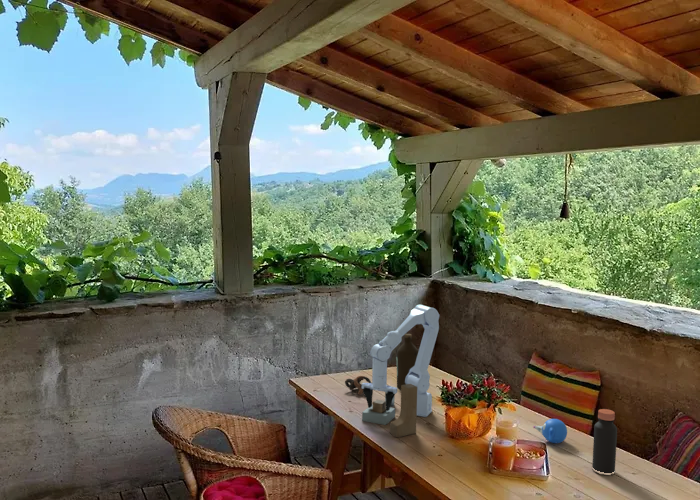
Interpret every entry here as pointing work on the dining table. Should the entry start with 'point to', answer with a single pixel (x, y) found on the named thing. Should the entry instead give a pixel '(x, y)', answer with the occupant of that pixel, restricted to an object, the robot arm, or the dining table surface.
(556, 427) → the blue rubber bulb blower
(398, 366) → the olive oil
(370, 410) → the socket block
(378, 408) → the square peg
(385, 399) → the round peg
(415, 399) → the brown boot
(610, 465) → the bottle
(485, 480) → the dining table surface
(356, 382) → the pottery mug
